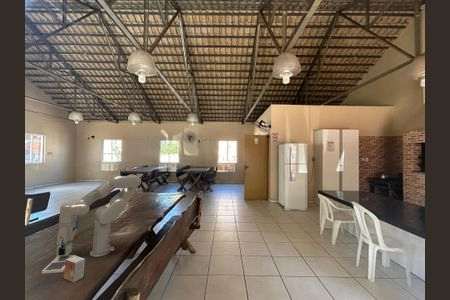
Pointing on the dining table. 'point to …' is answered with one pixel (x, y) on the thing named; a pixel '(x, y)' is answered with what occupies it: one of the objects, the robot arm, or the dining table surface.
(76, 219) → the juice carton
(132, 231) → the dining table surface
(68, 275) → the small box
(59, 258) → the post board
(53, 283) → the dining table surface
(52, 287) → the dining table surface
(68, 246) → the green slotted box
